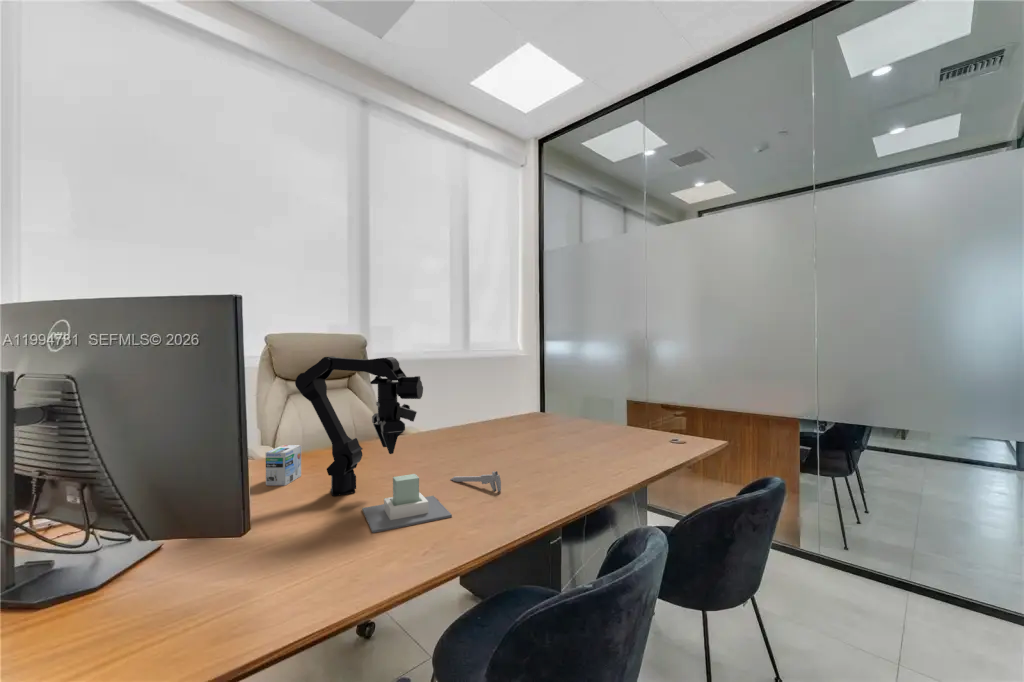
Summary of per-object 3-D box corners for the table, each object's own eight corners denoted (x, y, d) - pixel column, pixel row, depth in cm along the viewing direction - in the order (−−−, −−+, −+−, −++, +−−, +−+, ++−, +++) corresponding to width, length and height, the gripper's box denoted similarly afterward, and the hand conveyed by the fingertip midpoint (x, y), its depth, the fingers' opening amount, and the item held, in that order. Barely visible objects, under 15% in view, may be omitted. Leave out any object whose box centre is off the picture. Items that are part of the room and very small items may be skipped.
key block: (419, 511, 116) (419, 477, 116) (396, 515, 113) (396, 481, 113) (415, 506, 119) (415, 473, 119) (393, 510, 116) (392, 477, 116)
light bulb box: (285, 486, 139) (285, 452, 139) (264, 486, 139) (264, 452, 139) (302, 475, 150) (301, 444, 150) (282, 475, 150) (282, 444, 150)
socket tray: (372, 533, 104) (372, 518, 104) (362, 510, 118) (362, 497, 118) (451, 516, 114) (451, 503, 114) (433, 497, 128) (433, 485, 128)
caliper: (501, 492, 133) (501, 471, 133) (499, 493, 132) (498, 472, 132) (452, 480, 145) (452, 461, 145) (450, 481, 144) (449, 462, 144)
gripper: (422, 400, 127) (422, 454, 127) (406, 393, 143) (406, 441, 143) (383, 403, 122) (383, 459, 122) (371, 396, 138) (372, 445, 138)
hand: (388, 450), depth 131 cm, fingers open, 9 cm apart
